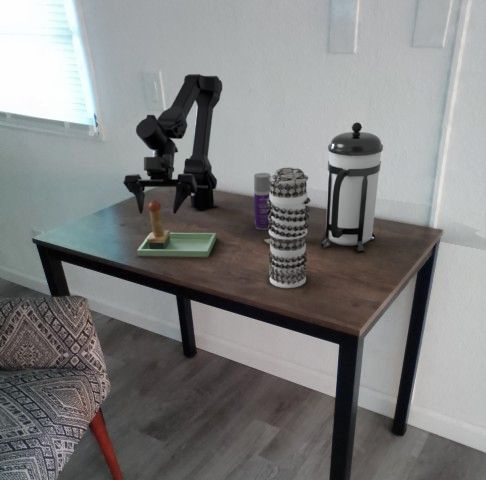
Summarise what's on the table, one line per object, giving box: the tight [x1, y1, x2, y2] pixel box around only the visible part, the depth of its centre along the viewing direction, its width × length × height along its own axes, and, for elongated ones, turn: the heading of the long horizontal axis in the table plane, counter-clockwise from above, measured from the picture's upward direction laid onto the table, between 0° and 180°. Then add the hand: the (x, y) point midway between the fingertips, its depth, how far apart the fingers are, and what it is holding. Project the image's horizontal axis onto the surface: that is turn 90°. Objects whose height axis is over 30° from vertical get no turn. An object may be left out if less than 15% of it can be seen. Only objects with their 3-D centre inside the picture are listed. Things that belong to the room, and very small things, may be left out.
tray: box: [136, 232, 217, 258], centre depth 131 cm, size 19×12×2 cm, turn 82°
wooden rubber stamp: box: [147, 200, 171, 249], centre depth 128 cm, size 4×6×13 cm
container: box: [253, 172, 271, 231], centre depth 138 cm, size 5×5×15 cm
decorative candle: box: [266, 167, 311, 289], centre depth 107 cm, size 9×9×25 cm
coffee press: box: [320, 121, 384, 254], centre depth 120 cm, size 17×16×30 cm
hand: (157, 213), depth 128 cm, fingers open, 9 cm apart
